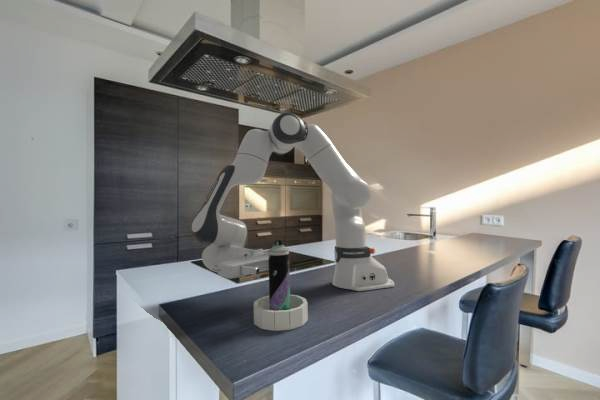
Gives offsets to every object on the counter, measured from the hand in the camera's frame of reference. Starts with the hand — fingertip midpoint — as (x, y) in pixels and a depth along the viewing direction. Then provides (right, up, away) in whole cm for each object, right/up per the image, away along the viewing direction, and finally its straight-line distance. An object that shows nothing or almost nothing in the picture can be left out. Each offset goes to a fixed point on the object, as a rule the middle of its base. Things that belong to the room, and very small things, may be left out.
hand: (270, 268), depth 81 cm
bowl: (+3, -13, -2) cm, 14 cm away
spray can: (+3, -12, -3) cm, 13 cm away
